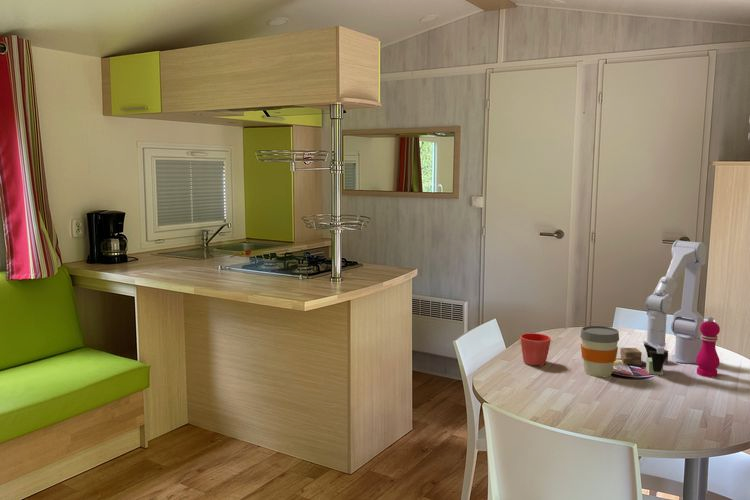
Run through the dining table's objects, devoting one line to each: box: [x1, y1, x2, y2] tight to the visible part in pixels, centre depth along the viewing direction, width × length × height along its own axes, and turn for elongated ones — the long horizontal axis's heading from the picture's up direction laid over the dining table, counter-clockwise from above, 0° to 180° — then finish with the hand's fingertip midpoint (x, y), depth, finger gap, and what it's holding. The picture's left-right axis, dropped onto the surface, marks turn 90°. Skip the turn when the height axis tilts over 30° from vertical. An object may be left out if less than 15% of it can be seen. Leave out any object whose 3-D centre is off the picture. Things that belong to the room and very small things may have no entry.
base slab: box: [620, 355, 643, 366], centre depth 230 cm, size 6×6×2 cm
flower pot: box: [520, 332, 552, 366], centre depth 230 cm, size 11×11×10 cm
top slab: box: [619, 347, 642, 360], centre depth 230 cm, size 6×6×2 cm
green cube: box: [645, 357, 664, 375], centre depth 219 cm, size 4×4×4 cm
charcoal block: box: [663, 348, 669, 364], centre depth 231 cm, size 4×4×4 cm
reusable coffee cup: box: [580, 325, 620, 378], centre depth 219 cm, size 13×13×15 cm
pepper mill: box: [695, 316, 721, 378], centre depth 216 cm, size 7×7×20 cm
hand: (654, 368), depth 220 cm, fingers open, 7 cm apart
